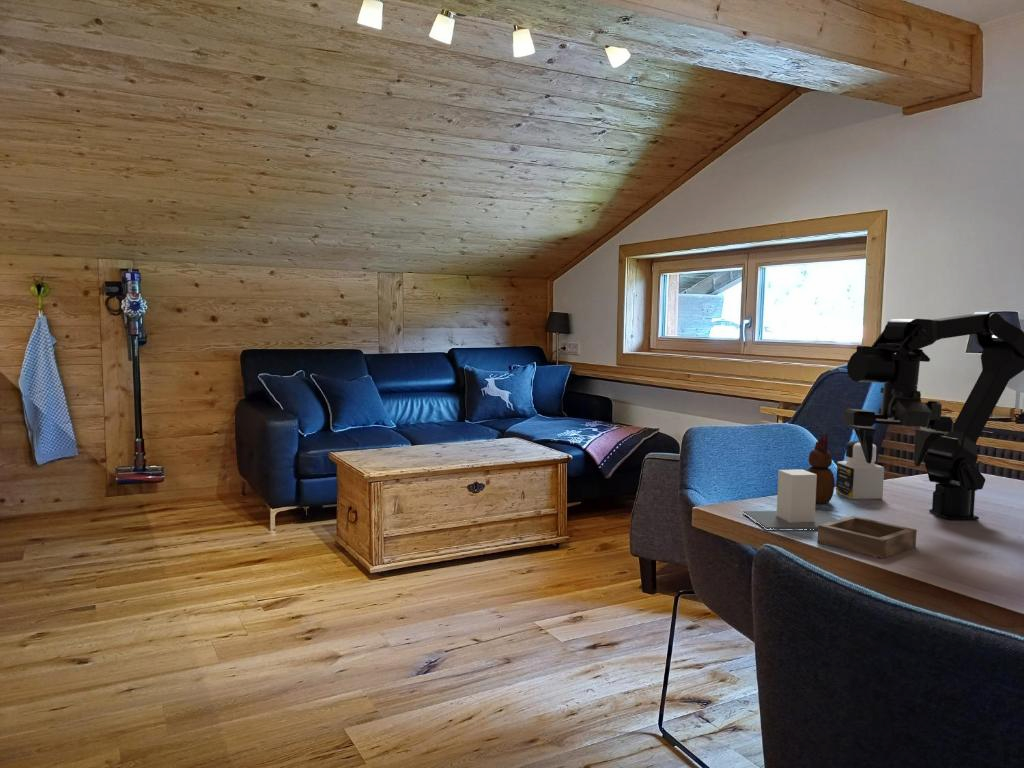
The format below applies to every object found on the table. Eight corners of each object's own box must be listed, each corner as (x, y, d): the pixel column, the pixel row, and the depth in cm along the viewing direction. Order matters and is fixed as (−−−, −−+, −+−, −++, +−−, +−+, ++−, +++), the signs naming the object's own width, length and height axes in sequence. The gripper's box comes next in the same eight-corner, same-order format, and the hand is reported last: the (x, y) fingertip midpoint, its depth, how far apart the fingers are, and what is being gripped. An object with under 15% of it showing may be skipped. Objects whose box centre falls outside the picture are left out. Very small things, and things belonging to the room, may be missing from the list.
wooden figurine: (836, 506, 160) (839, 435, 159) (806, 505, 161) (809, 433, 160) (829, 499, 167) (832, 430, 166) (801, 497, 168) (804, 429, 167)
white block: (800, 515, 150) (802, 469, 150) (814, 521, 145) (816, 474, 145) (776, 515, 149) (778, 469, 149) (790, 522, 144) (792, 475, 144)
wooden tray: (851, 531, 141) (852, 515, 141) (915, 546, 132) (916, 529, 132) (817, 542, 134) (818, 525, 134) (882, 558, 125) (883, 540, 125)
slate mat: (821, 513, 154) (821, 510, 154) (851, 530, 142) (851, 527, 142) (742, 514, 153) (743, 511, 153) (766, 530, 141) (766, 527, 141)
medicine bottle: (835, 492, 174) (837, 439, 173) (865, 492, 175) (868, 439, 174) (851, 499, 167) (854, 444, 166) (883, 499, 168) (886, 444, 167)
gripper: (870, 383, 140) (862, 468, 141) (974, 390, 139) (965, 475, 140) (845, 379, 151) (837, 458, 152) (941, 386, 150) (933, 465, 152)
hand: (892, 464), depth 149 cm, fingers open, 9 cm apart
